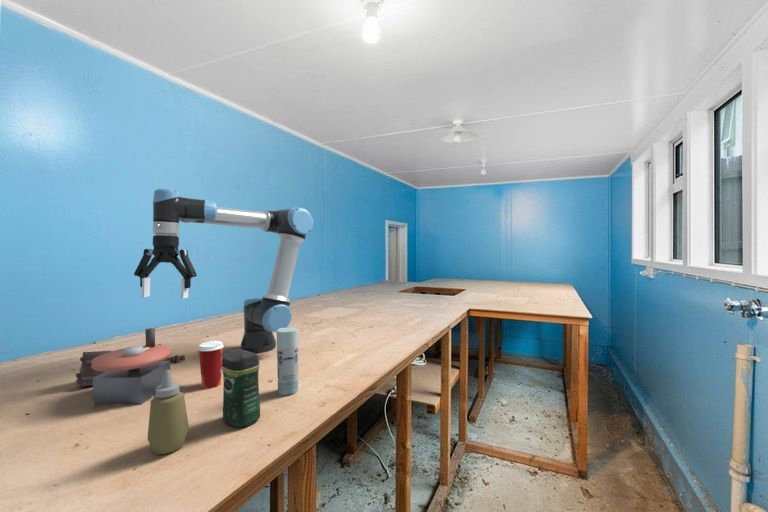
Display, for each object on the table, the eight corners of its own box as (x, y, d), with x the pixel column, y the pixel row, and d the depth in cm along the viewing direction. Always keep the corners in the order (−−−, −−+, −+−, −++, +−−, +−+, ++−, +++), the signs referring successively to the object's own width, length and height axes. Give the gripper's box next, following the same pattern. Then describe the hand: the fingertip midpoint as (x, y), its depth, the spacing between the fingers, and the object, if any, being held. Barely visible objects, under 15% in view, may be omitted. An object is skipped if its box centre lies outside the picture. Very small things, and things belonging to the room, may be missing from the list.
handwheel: (144, 380, 96) (143, 344, 95) (72, 381, 95) (71, 345, 95) (184, 356, 116) (183, 327, 115) (125, 357, 115) (124, 327, 115)
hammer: (73, 382, 112) (80, 351, 113) (177, 371, 138) (182, 346, 139) (79, 387, 108) (86, 355, 109) (185, 375, 134) (190, 349, 135)
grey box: (170, 384, 113) (170, 360, 113) (142, 404, 99) (141, 377, 99) (128, 385, 113) (127, 361, 112) (93, 404, 99) (92, 378, 98)
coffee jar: (265, 419, 90) (264, 350, 90) (237, 432, 84) (236, 359, 83) (245, 408, 96) (244, 344, 95) (218, 420, 90) (216, 351, 89)
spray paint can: (276, 389, 109) (275, 328, 108) (296, 385, 111) (296, 326, 111) (278, 397, 103) (277, 333, 102) (300, 393, 105) (299, 330, 105)
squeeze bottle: (160, 438, 81) (158, 365, 81) (195, 436, 82) (193, 364, 81) (139, 459, 73) (137, 378, 73) (178, 457, 74) (176, 377, 73)
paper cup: (229, 382, 115) (228, 341, 114) (211, 391, 107) (210, 348, 107) (211, 379, 117) (210, 339, 117) (192, 388, 110) (191, 345, 110)
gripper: (121, 233, 111) (120, 297, 111) (195, 235, 110) (194, 299, 110) (139, 235, 118) (138, 295, 119) (208, 236, 118) (207, 296, 118)
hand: (165, 297), depth 114 cm, fingers open, 13 cm apart
